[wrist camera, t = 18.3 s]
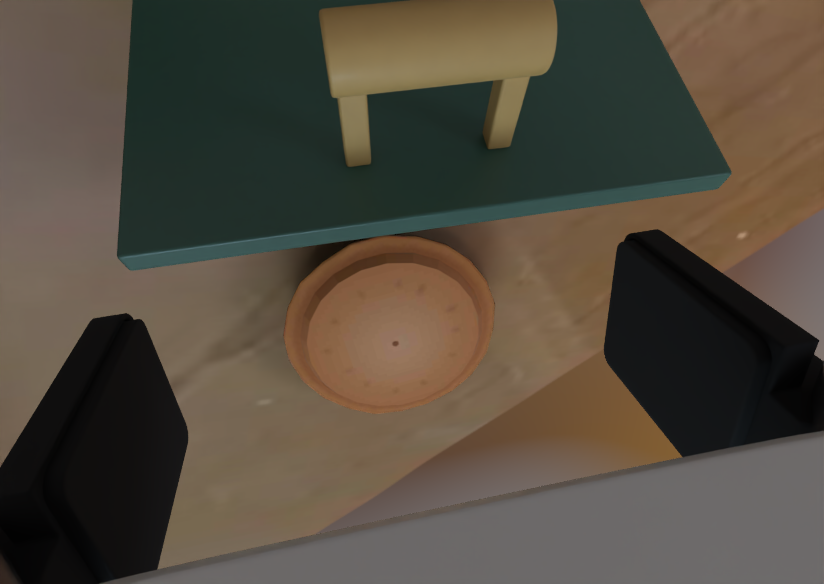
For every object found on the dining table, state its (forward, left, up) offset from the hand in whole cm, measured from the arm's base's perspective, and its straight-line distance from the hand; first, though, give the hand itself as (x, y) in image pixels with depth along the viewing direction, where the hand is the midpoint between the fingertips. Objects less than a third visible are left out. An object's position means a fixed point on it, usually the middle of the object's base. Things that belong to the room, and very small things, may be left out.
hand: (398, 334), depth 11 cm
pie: (+2, -16, -27) cm, 32 cm away
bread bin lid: (+2, +4, -11) cm, 12 cm away
